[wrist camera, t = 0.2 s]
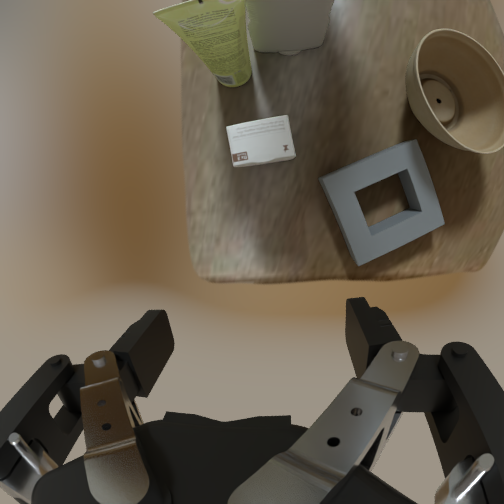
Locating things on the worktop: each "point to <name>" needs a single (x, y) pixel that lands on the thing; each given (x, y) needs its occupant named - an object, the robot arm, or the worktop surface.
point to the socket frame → (395, 227)
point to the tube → (213, 35)
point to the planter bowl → (457, 91)
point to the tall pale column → (287, 24)
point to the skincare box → (261, 141)
